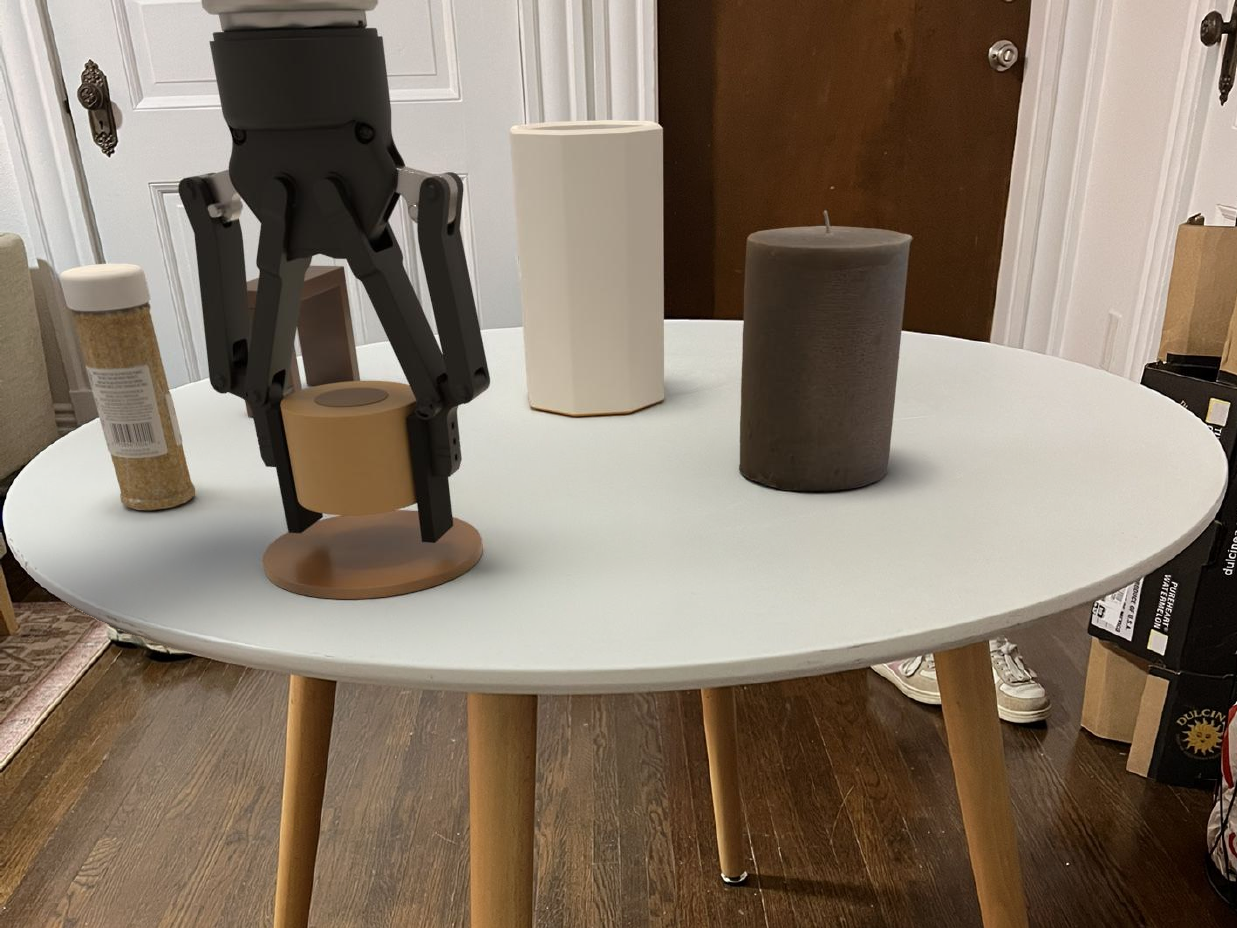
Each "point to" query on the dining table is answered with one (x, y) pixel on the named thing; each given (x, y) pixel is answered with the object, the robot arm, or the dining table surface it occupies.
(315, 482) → the tape roll
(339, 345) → the brown arch block
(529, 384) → the cream faceted vase
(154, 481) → the spice jar
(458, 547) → the cork mat
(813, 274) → the pillar candle
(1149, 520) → the dining table surface
